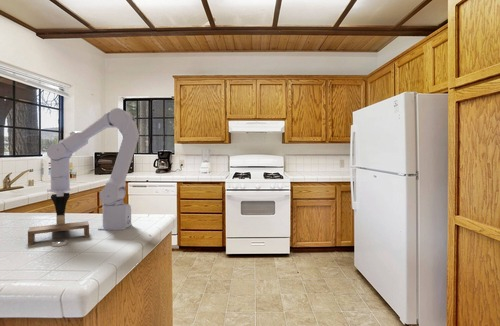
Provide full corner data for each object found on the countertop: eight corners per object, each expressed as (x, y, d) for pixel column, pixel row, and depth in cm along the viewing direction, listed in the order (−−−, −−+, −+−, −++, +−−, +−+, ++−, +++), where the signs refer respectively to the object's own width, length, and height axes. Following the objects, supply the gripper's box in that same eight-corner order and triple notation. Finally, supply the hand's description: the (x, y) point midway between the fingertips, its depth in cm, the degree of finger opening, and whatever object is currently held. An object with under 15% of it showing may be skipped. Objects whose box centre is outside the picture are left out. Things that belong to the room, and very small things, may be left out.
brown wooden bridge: (87, 232, 99) (87, 221, 99) (89, 236, 94) (89, 224, 94) (30, 239, 90) (29, 227, 90) (27, 244, 85) (27, 231, 85)
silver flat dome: (69, 243, 88) (69, 239, 88) (63, 247, 84) (63, 244, 84) (55, 243, 88) (55, 240, 87) (48, 248, 84) (48, 244, 84)
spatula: (52, 229, 103) (52, 204, 104) (68, 227, 106) (68, 203, 107) (51, 230, 93) (51, 203, 94) (69, 228, 96) (68, 201, 97)
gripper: (47, 175, 108) (48, 211, 108) (45, 178, 96) (46, 218, 96) (69, 175, 112) (70, 209, 112) (70, 177, 100) (70, 216, 100)
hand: (60, 213), depth 105 cm, fingers open, 4 cm apart
